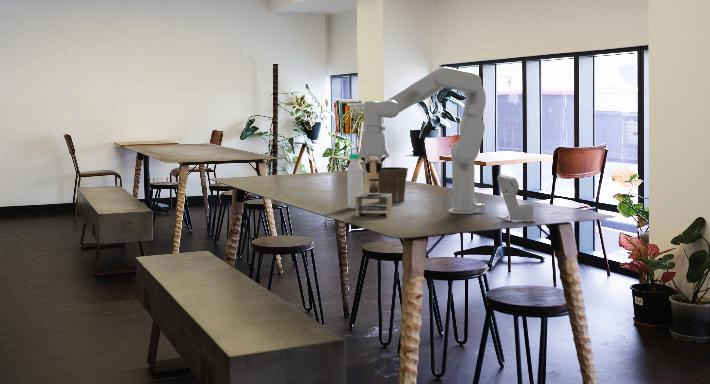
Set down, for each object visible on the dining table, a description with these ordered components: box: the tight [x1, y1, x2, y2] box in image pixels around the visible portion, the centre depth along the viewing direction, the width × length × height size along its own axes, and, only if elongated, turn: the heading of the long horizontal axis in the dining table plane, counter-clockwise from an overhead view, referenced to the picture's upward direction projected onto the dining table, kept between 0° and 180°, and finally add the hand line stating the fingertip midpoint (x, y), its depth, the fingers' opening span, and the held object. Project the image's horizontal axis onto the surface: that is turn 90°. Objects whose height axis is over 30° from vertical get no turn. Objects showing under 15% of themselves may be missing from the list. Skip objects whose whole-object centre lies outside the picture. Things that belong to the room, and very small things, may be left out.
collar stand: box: [355, 193, 393, 218], centre depth 362 cm, size 14×12×8 cm
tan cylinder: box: [368, 159, 379, 194], centre depth 360 cm, size 4×4×14 cm
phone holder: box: [496, 174, 534, 220], centre depth 340 cm, size 17×10×18 cm, turn 14°
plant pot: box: [378, 166, 409, 204], centre depth 406 cm, size 16×16×16 cm
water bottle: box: [346, 153, 364, 210], centre depth 385 cm, size 7×7×25 cm
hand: (373, 172), depth 360 cm, fingers closed on tan cylinder, 4 cm apart
